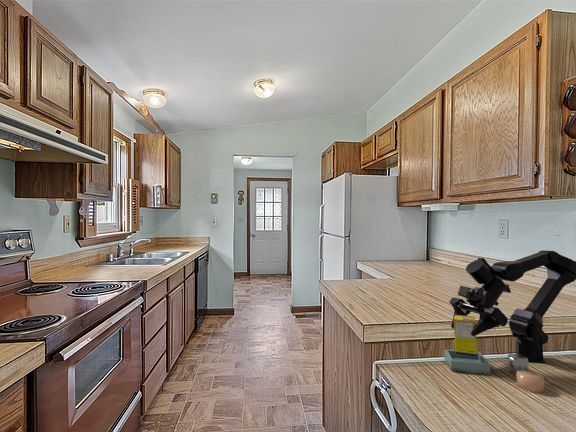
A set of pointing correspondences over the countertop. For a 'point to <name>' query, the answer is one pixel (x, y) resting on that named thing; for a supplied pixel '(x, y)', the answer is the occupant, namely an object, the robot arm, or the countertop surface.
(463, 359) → the tray
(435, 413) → the countertop surface
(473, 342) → the supplement box
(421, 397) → the countertop surface
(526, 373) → the peach egg-shaped pebble
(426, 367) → the countertop surface
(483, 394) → the countertop surface
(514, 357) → the tin
